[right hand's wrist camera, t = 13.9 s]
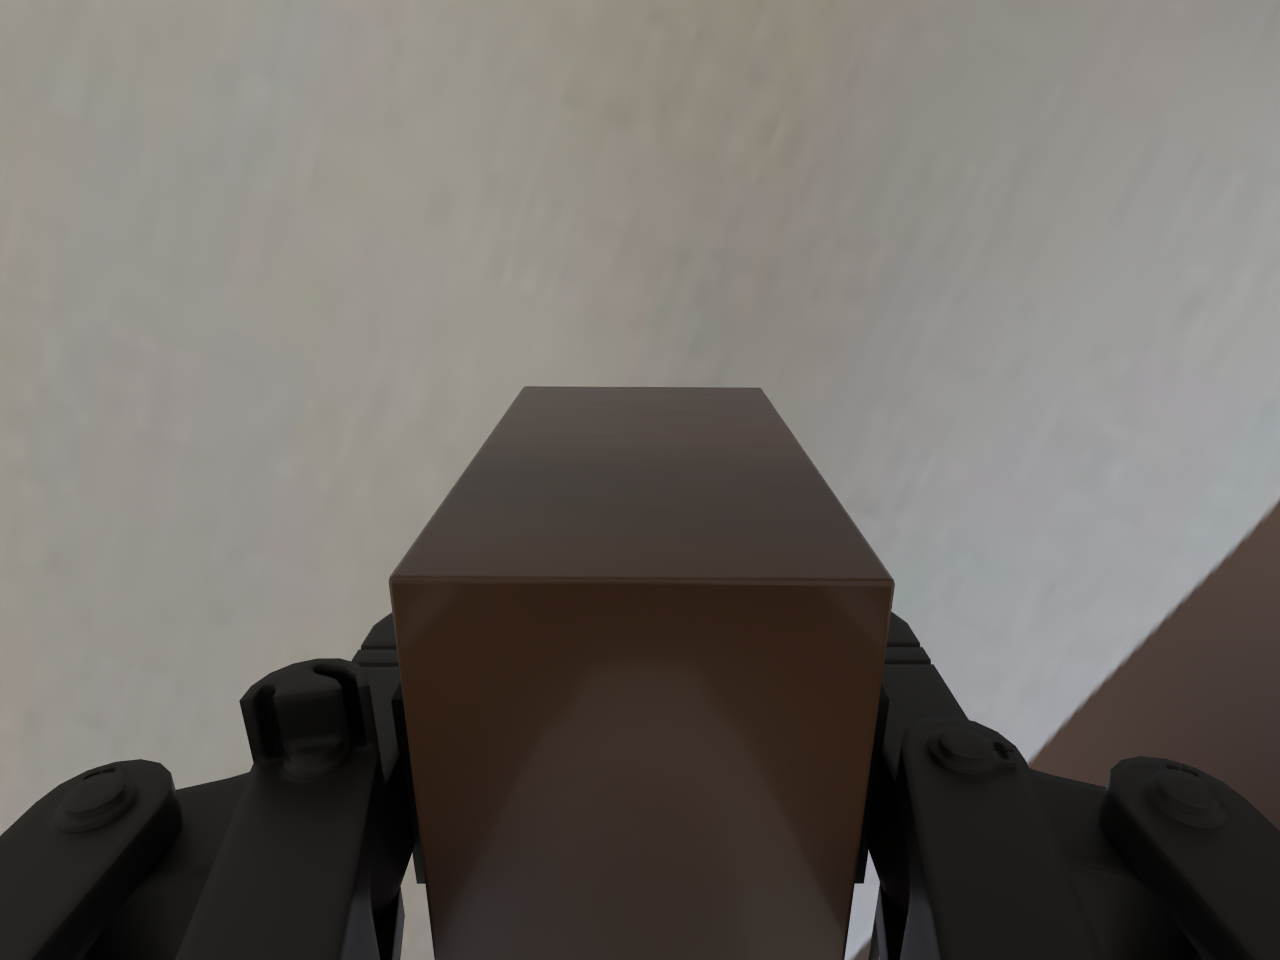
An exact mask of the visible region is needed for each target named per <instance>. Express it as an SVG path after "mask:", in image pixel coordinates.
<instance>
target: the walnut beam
mask: <svg viewBox="0 0 1280 960" xmlns="http://www.w3.org/2000/svg"><path fill="white" fill-rule="evenodd" d="M894 586H895V583H894V580H893V578H892V577H891V576H890V574H889V573H888V571H887V570H886V568H885V567H884V565H883V564H882V562H881V561H880V560H879V558H878V557H877V555H876V554H875V552H874V551H873V549H872V548H871V547H870V545H869V544H868V542H867V541H866V539H865V538H864V536H863V535H862V534H861V532H860V531H859V529H858V528H857V526H856V525H855V523H854V522H853V521H852V519H851V518H850V516H849V515H848V513H847V512H846V510H845V509H844V508H843V506H842V505H841V503H840V502H839V500H838V499H837V497H836V496H835V495H834V493H833V492H832V490H831V489H830V487H829V486H828V484H827V483H826V482H825V480H824V479H823V477H822V476H821V474H820V473H819V471H818V470H817V469H816V467H815V466H814V464H813V463H812V461H811V460H810V458H809V457H808V455H807V454H806V453H805V451H804V450H803V448H802V447H801V445H800V444H799V442H798V441H797V440H796V438H795V437H794V435H793V434H792V432H791V431H790V429H789V428H788V427H787V425H786V424H785V422H784V421H783V419H782V418H781V416H780V415H779V414H778V412H777V411H776V409H775V408H774V406H773V405H772V403H771V402H770V401H769V399H768V398H767V396H766V395H765V393H764V392H763V390H762V389H761V388H698V387H524V388H523V389H522V390H521V392H520V393H519V395H518V396H517V397H516V399H515V400H514V402H513V403H512V405H511V406H510V407H509V409H508V410H507V412H506V413H505V414H504V416H503V417H502V419H501V420H500V422H499V423H498V424H497V426H496V427H495V429H494V430H493V431H492V433H491V434H490V436H489V437H488V439H487V440H486V441H485V443H484V444H483V446H482V447H481V448H480V450H479V451H478V453H477V454H476V456H475V457H474V458H473V460H472V461H471V463H470V464H469V465H468V467H467V468H466V470H465V471H464V473H463V474H462V475H461V477H460V478H459V480H458V481H457V482H456V484H455V485H454V487H453V488H452V490H451V491H450V492H449V494H448V495H447V497H446V498H445V499H444V501H443V502H442V504H441V505H440V507H439V508H438V509H437V511H436V512H435V514H434V515H433V516H432V518H431V519H430V521H429V522H428V524H427V525H426V526H425V528H424V529H423V531H422V532H421V533H420V535H419V536H418V538H417V539H416V541H415V542H414V543H413V545H412V546H411V548H410V549H409V550H408V552H407V553H406V555H405V556H404V558H403V559H402V560H401V562H400V563H399V565H398V566H397V567H396V569H395V570H394V572H393V573H392V575H391V576H390V578H389V588H390V596H391V604H392V613H393V621H394V629H395V637H396V646H397V654H398V662H399V670H400V678H401V687H402V695H403V703H404V711H405V719H406V728H407V736H408V744H409V752H410V760H411V769H412V777H413V785H414V793H415V801H416V810H417V818H418V826H419V834H420V842H421V851H422V859H423V867H424V875H425V883H426V892H427V900H428V908H429V916H430V925H431V933H432V941H433V949H434V957H435V960H844V958H845V950H846V943H847V935H848V928H849V921H850V913H851V906H852V898H853V891H854V883H855V876H856V869H857V861H858V854H859V846H860V839H861V831H862V824H863V817H864V809H865V802H866V794H867V787H868V779H869V772H870V765H871V757H872V750H873V742H874V735H875V727H876V720H877V713H878V705H879V698H880V690H881V683H882V675H883V668H884V661H885V653H886V646H887V638H888V631H889V623H890V616H891V609H892V601H893V594H894Z"/></svg>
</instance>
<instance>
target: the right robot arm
mask: <svg viewBox="0 0 1280 960" xmlns="http://www.w3.org/2000/svg"><path fill="white" fill-rule="evenodd" d="M240 705H241V709H242V714H243V718H244V723H245V727H246V731H247V736H248V740H249V744H250V749H251V753H252V758H253V762H254V764H253V766H252V769H251V771H250V772H248V773H245V774H241V775H238V776H235V777H231V778H228V779H223V780H219V781H214V782H210V783H205V784H201V785H196V786H192V787H187V788H183V789H178V790H175V786H174V782H173V779H172V775H171V773H170V772H169V771H168V770H167V769H166V768H165V767H164V766H163V765H162V764H161V763H157V762H152V761H147V760H142V759H139V760H129V761H120V762H114V763H111V764H107V765H103V766H101V767H97V768H94V769H91V770H88V771H86V772H84V773H82V774H80V775H78V776H76V777H74V778H72V779H70V780H68V781H66V782H64V783H62V784H60V785H58V786H57V787H56V788H55V789H53V790H52V791H51V792H49V793H48V794H47V795H45V796H44V797H43V798H41V799H40V800H39V801H37V802H36V803H35V804H34V805H33V806H32V807H31V808H30V809H29V810H28V811H26V812H25V813H24V814H23V815H22V816H21V817H20V818H19V819H18V820H17V821H16V822H15V823H14V824H13V825H12V826H11V827H10V828H8V829H7V830H6V831H5V832H4V833H3V834H2V835H1V836H0V960H400V956H401V947H402V937H403V927H404V917H405V914H404V907H403V900H402V893H401V887H400V886H401V883H402V880H403V877H404V874H405V871H406V868H407V866H408V863H409V860H410V857H411V854H412V852H413V859H414V866H415V873H416V880H417V884H426V883H425V875H424V867H423V859H422V851H421V842H420V834H419V826H418V818H417V810H416V801H415V793H414V785H413V777H412V769H411V760H410V752H409V744H408V736H407V728H406V719H405V711H404V703H403V695H402V687H401V678H400V670H399V662H398V654H397V646H396V637H395V629H394V621H393V613H390V614H389V615H388V616H386V617H385V618H384V619H382V620H381V621H379V622H378V623H377V624H375V625H374V626H373V628H372V629H371V631H370V633H369V634H368V636H367V637H366V639H365V640H364V642H363V644H362V645H361V650H358V652H357V653H356V655H355V656H354V658H353V659H352V661H347V660H343V659H313V660H309V661H304V662H299V663H294V664H291V665H289V666H287V667H284V668H282V669H279V670H277V671H274V672H272V673H270V674H268V675H267V676H265V677H264V678H262V679H261V680H259V681H258V682H257V683H255V684H254V685H252V686H251V687H250V688H249V690H248V691H247V692H246V693H245V695H244V696H243V697H242V698H241V700H240ZM868 849H869V852H870V854H871V857H872V860H873V863H874V866H875V869H876V871H877V874H878V877H879V880H880V887H879V893H878V900H877V906H876V913H875V919H874V926H873V932H872V939H871V946H870V953H869V960H879V955H880V960H1280V831H1279V830H1278V829H1277V828H1276V827H1275V826H1274V825H1273V824H1272V823H1271V822H1270V821H1269V820H1268V819H1266V818H1265V817H1264V816H1263V815H1262V814H1261V813H1260V812H1259V811H1258V810H1257V809H1256V808H1255V807H1254V806H1253V805H1252V804H1251V803H1249V802H1248V801H1247V800H1246V799H1245V798H1244V797H1242V796H1241V795H1240V794H1238V793H1237V792H1236V791H1234V790H1233V789H1232V788H1230V787H1229V786H1228V785H1226V784H1225V783H1224V782H1222V781H1220V780H1218V779H1216V778H1214V777H1212V776H1210V775H1208V774H1206V773H1204V772H1202V771H1200V770H1198V769H1196V768H1194V767H1191V766H1188V765H1185V764H1181V763H1179V762H1175V761H1172V760H1168V759H1163V758H1153V757H1143V756H1139V757H1134V758H1129V759H1124V760H1121V761H1120V762H1119V763H1118V764H1117V765H1115V766H1114V767H1113V768H1112V769H1111V771H1110V774H1109V778H1108V781H1107V785H1106V787H1103V786H1098V785H1094V784H1089V783H1085V782H1080V781H1076V780H1071V779H1067V778H1062V777H1058V776H1053V775H1050V774H1046V773H1043V772H1040V771H1036V770H1033V769H1030V768H1029V767H1028V765H1027V762H1026V761H1025V759H1024V758H1023V756H1022V755H1021V753H1020V752H1019V751H1018V749H1017V748H1016V746H1015V745H1013V744H1012V743H1011V742H1010V741H1008V740H1007V739H1006V738H1004V737H1003V736H1002V735H1001V734H999V733H998V732H996V731H994V730H992V729H990V728H988V727H985V726H983V725H981V724H979V723H977V722H974V721H970V720H968V718H967V717H966V715H965V713H964V712H963V710H962V709H961V707H960V706H959V704H958V702H957V701H956V699H955V698H954V696H953V695H952V693H951V691H950V690H949V688H948V687H947V685H946V683H945V682H944V680H943V679H942V677H941V676H940V674H939V672H938V671H937V669H936V668H935V666H934V665H933V664H931V660H930V658H929V657H928V655H927V654H926V652H925V650H924V649H923V647H920V643H919V641H918V639H917V638H916V636H915V635H914V633H913V632H912V630H911V628H910V627H909V625H908V624H907V623H906V622H905V621H904V620H902V619H901V618H899V617H898V616H897V615H895V614H894V613H892V612H891V616H890V623H889V631H888V638H887V646H886V653H885V661H884V668H883V675H882V683H881V690H880V698H879V705H878V713H877V720H876V727H875V735H874V742H873V750H872V757H871V765H870V772H869V779H868V787H867V794H866V802H865V809H864V817H863V824H862V831H861V839H860V846H859V854H858V861H857V869H856V876H855V883H864V877H865V870H866V863H867V856H868Z"/></svg>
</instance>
